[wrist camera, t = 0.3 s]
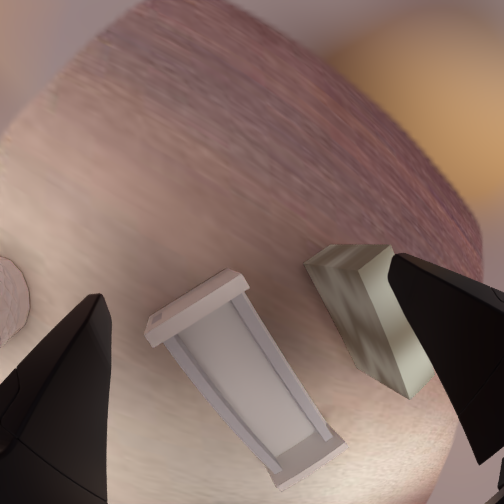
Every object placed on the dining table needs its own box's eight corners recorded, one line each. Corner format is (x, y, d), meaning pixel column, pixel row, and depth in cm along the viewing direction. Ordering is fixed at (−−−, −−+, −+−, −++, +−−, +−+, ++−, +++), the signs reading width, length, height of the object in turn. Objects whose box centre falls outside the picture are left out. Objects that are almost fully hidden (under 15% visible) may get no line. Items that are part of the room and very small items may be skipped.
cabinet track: (323, 421, 26) (349, 447, 21) (264, 460, 24) (281, 491, 20) (227, 267, 23) (241, 273, 18) (149, 316, 22) (143, 334, 17)
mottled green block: (378, 349, 27) (434, 374, 20) (356, 368, 27) (410, 400, 19) (330, 244, 25) (390, 244, 18) (302, 263, 25) (357, 270, 17)
